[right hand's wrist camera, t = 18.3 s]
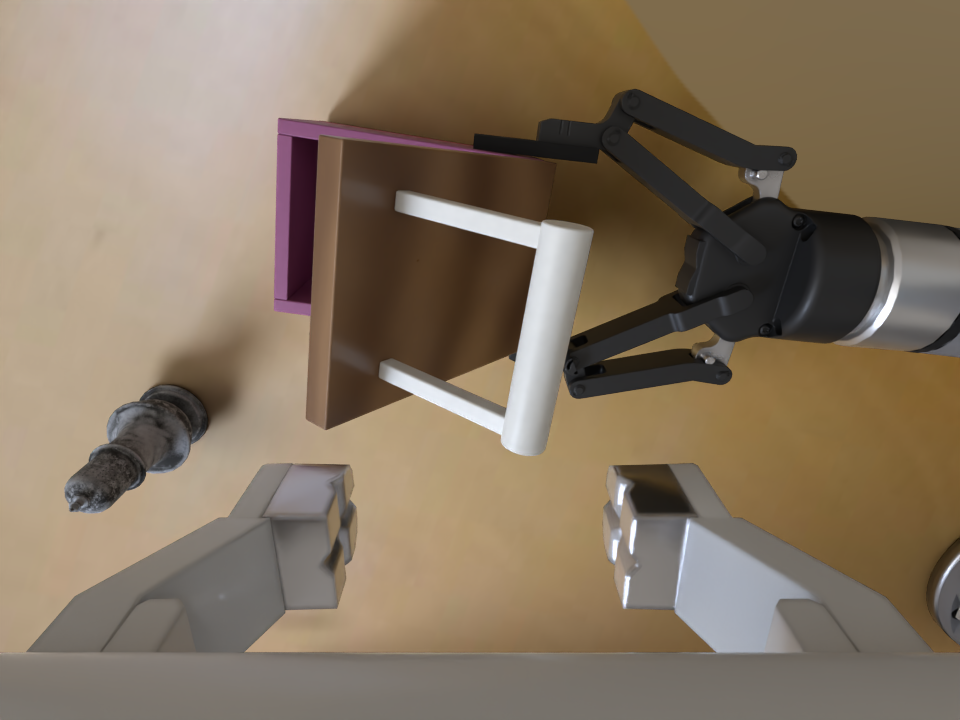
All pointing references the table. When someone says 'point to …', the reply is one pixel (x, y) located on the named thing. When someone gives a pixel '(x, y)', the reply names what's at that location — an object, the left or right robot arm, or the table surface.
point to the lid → (439, 284)
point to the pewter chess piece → (138, 447)
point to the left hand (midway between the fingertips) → (464, 241)
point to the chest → (300, 200)
